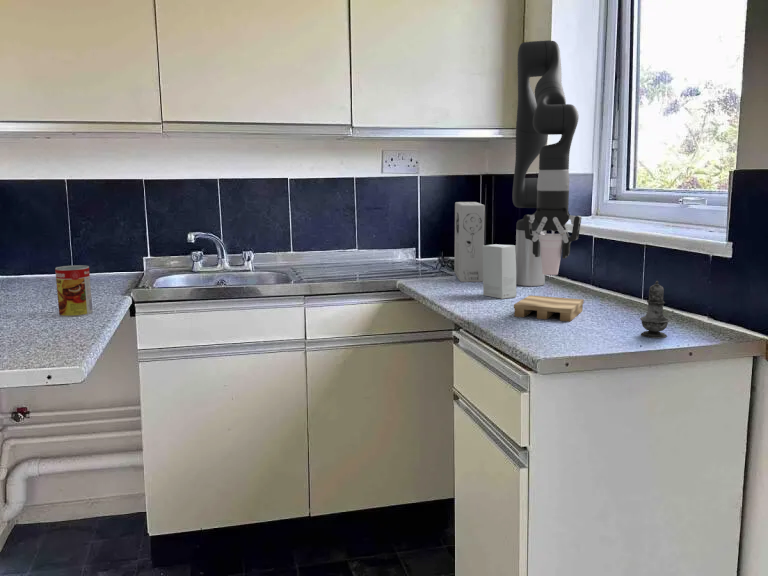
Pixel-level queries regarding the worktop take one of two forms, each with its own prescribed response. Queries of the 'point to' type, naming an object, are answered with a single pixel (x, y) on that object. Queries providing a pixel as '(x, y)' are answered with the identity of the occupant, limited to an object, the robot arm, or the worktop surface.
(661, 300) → the salt shaker
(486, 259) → the skincare box
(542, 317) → the tan wavy panel
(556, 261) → the smoothie
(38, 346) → the worktop surface
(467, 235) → the cereal box
